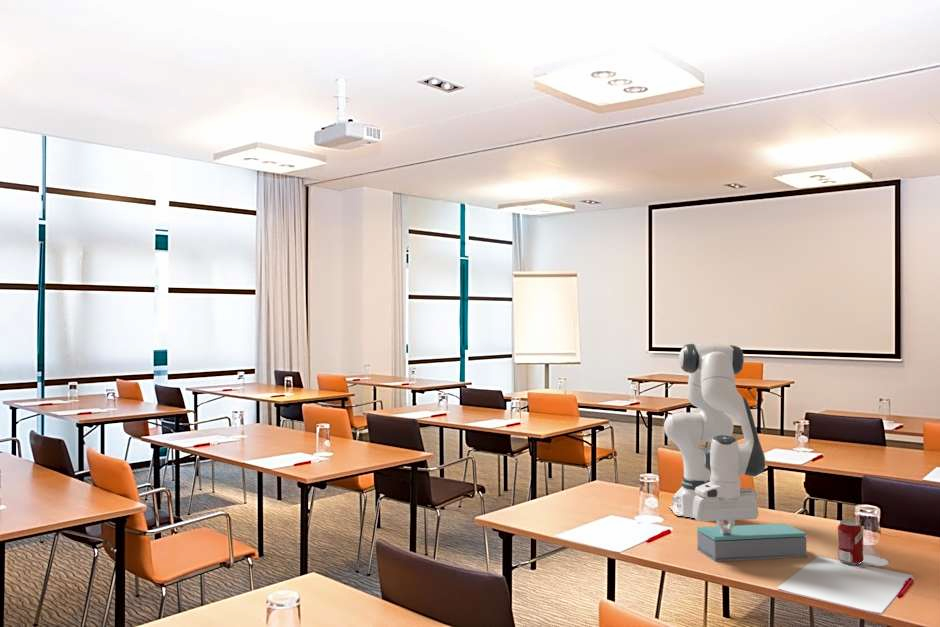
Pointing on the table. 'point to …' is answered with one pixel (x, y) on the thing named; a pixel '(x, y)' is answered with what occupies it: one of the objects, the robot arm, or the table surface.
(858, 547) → the soda can
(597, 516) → the table surface
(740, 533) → the lid
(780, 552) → the grey open box
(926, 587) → the table surface
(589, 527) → the table surface
